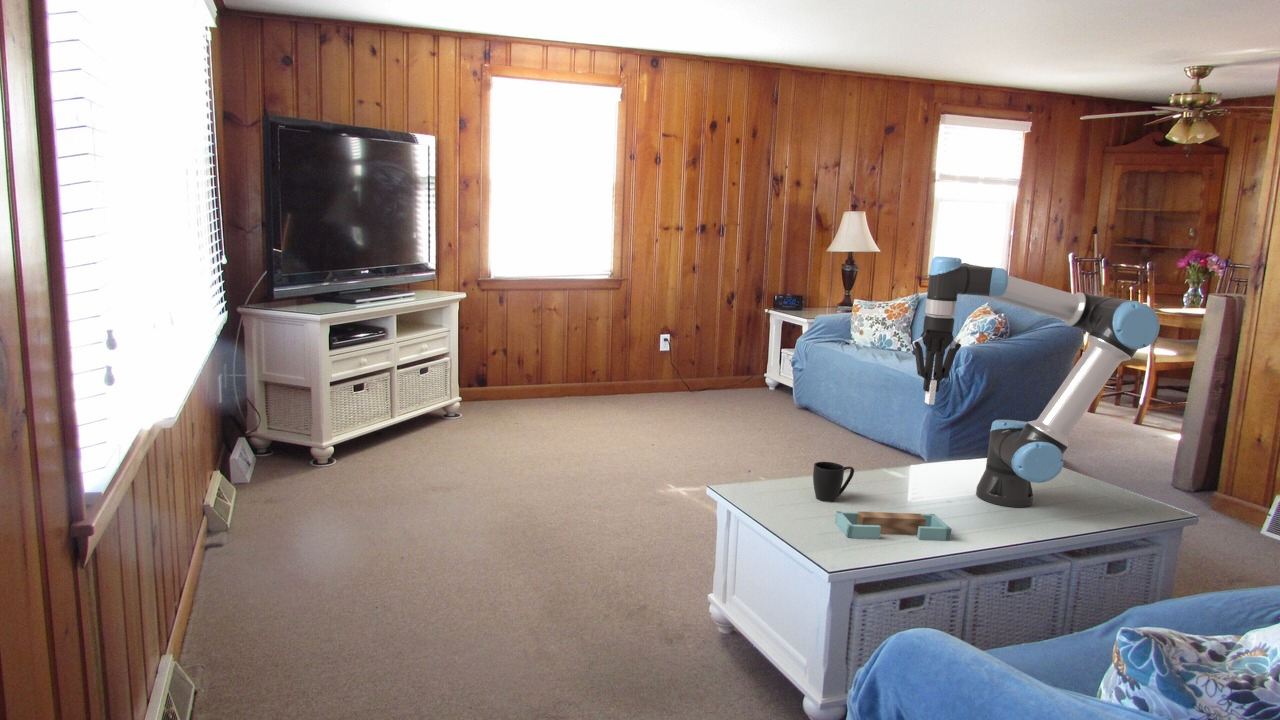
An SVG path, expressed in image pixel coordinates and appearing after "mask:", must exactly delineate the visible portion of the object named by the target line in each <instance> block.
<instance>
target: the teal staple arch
mask: <svg viewBox="0 0 1280 720" xmlns="http://www.w3.org/2000/svg"><path fill="white" fill-rule="evenodd" d="M913 514H917V513H915V512H914V513H913ZM920 514H921V515H922V516H923V517H924V518H925V519H926V526H918V534H917V535H916V536H917V537H916V539H918V540H920V541H921V540H923V541H925V540H926V541H951V539H952V529H953V528H951V527H950V526H949V525H948V524H946V522H944V521H943V520H942V519H941V518H939V516H937V515H936V514H935V513H920Z"/></svg>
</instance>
